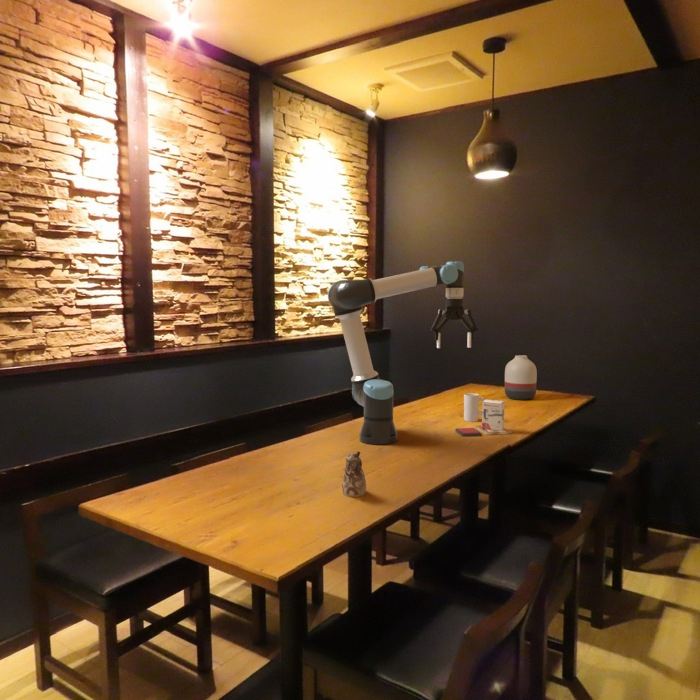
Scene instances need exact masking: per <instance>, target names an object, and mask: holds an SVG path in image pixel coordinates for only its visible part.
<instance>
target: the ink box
mask: <svg viewBox="0 0 700 700" xmlns="http://www.w3.org/2000/svg"><path fill="white" fill-rule="evenodd" d="M481 402H482V401H481ZM481 404H482V406H481V408H482V409H481V411H482V415H481V426H482V429H491V430H500V431H501V430H503V429H504V428H505V405H506V403H505V400H497V399H484V401H483V402H482V403H481Z"/></svg>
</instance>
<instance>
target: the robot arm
mask: <svg viewBox="0 0 700 700" xmlns="http://www.w3.org/2000/svg"><path fill="white" fill-rule="evenodd" d="M464 275H465V266H464V262H463V261H447V262H446V264H441V265H440V264H439V265H425V266H424V265H423V266H420V268H419V269H417V270H415V271H408V272H405V273H400V274H395V275H392V276H385V277H382V278H377V279H372V278H370V277H369V278H365V279H342V280H338V281H336V282H334V283H333V284H332V285H331V286H330V287H329V289H328V292H327V299H328V302H329V304H330V305H331V306H332V310H333V314H334V317H335V318H336V319H338V320H339V322H340V327H341V331H342V334H343V338H344V341H345V346H346V350H347V354H348V359H349V362H350V366H351V370H352V377H351V378H350V381H351V385H352V388H351V394H352V398H353V400H354V401H355V402H356V403H357V404H358V405H359V406H361V407H363V422H362V426H361V429H360V432H359V441H360V442H362V443H364V444H370V445H389V444H394V443H396V442H398V432H397V429H396V428H397V427H396V425H395V423H394V393H395V391H394V385H393V383H392V382H390V381H388V380H384V379H380V376H379V372H377V371H376V370H374V367H373V363H372V359H371V358H372V357H371V354H370V349H369V346H368V342H367V339H366V334H365V330H364V326H363V321H362V318H361V313H362V311H363V306H366V305H369V304H375V303H376V301H377V300H380V299H384V298H388V297H393V296H396V295H401V294H406V293H410V292H414V291H420V290H423V289H428V288H431V287H438V286H442V285H445V309H438V310H437V315H436V317H435V319H434V321H433V323H432V325H431V327H430V331H431V332H433V333H434V340H435V341H436V348H437V349H441V333H440V331H441V330H442V329H443V327H445V325H446V324H447V322H448V321H460V322H461V323H462V324H463V325H464V327H465V328H466V329H467V330H468V331H469V332H467V337H466V338H467V340H466V341H467V345H466V348H470V349H471V348H472V341H473V340H474V333H475V332H476V331H477V332H478V330H479V329H478V326H477V325H476V322H475V321H474V317H473V315H472V310H471V309H468V308H466V309H464V299H463V298H464V290H465V289H464V285H465V283H464V278H465V276H464ZM444 314H445V316H444ZM464 314H465V315H466V317H467V319H468V321H469V322H467V320H466V319H465V318H464ZM442 316H444V318H443V320H442V321H441V318H442ZM440 321H441V322H440ZM439 322H440V323H439Z"/></svg>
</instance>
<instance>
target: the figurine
mask: <svg viewBox="0 0 700 700" xmlns="http://www.w3.org/2000/svg"><path fill="white" fill-rule="evenodd" d="M360 454H361V451H359V450H357V451H356V453H355V452H350V453H349V454H348V455H347V456H346V457H345V468H343V472H344V473H343V480H342V483H341V484H342V485H341V486H342V488H341V489H342V495H343V496H346V497H349V498H350V497H352V498H353V497H354V498H357V497H362V496H364V495H365V494H367V480H366V475H365V472H364V470H363V468H362V466H363V463H362V458H360Z"/></svg>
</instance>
